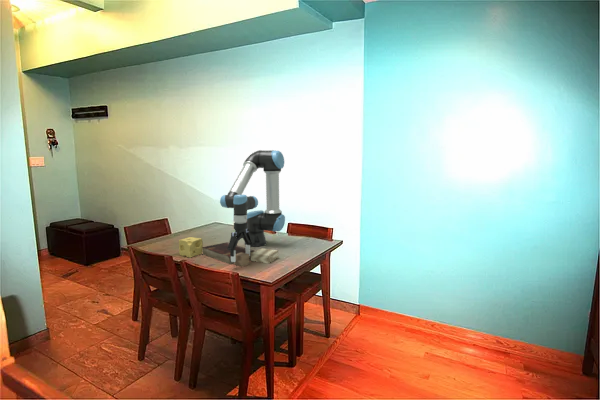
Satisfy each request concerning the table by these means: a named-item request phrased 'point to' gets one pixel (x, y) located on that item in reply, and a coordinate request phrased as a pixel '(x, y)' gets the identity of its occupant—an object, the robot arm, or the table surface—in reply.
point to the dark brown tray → (223, 252)
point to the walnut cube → (242, 259)
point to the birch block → (264, 255)
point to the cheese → (190, 246)
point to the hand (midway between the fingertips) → (240, 258)
